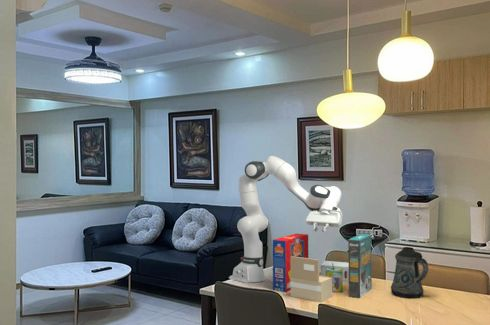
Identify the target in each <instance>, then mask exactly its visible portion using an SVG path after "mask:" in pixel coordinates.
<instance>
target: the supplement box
mask: <svg viewBox="0 0 490 325" xmlns="http://www.w3.org/2000/svg"><path fill="white" fill-rule="evenodd" d="M332 263H333V266H334V268H342V279H343V282H344V283H345V282H346V283H349V262H346V261H333V260H324V261H323V262H322V263H321V264H320V275H321V276H326V268H333V266H332Z"/></svg>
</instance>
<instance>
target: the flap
mask: <svg viewBox="0 0 490 325" xmlns="http://www.w3.org/2000/svg"><path fill="white" fill-rule="evenodd" d="M319 275H320V260H319V259H315V258H309V257H308V258H301V257H294V256H291V278H296V279H302V280H309V281H315V282H319Z"/></svg>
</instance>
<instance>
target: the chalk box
mask: <svg viewBox="0 0 490 325" xmlns="http://www.w3.org/2000/svg"><path fill="white" fill-rule="evenodd" d="M332 266H333V263H332ZM326 276H327V277H331V278H332V293H333V292H334V293H344V289H343V288H344V287H343V286H344V284H343V279H342V268H334V266H333V268H326Z"/></svg>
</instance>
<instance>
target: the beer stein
mask: <svg viewBox="0 0 490 325" xmlns="http://www.w3.org/2000/svg"><path fill="white" fill-rule="evenodd" d="M394 257H395V260H396V262H395V270H394V275H393V280H392V283H391V286H390V291H391V294H392V296H394V297H397V298H400V299H401V298H402V299H408V300H409V299H420V298H422V297H423V295H424V292H425V291H424V288H423V285H422V281H423V280H424V279H425V278H426V277H427V275H428V273H429V264H428V261H427V260H426V258H423V255H422V253H421V252H420V251H419V252H418V251H416V250H415V249H414V247H410V246H404V247H403V248H402V249H401V250H400V251H398V252H397V253H396V254H395V255H394ZM419 265H421V267H422V272H420V267H419Z"/></svg>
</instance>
